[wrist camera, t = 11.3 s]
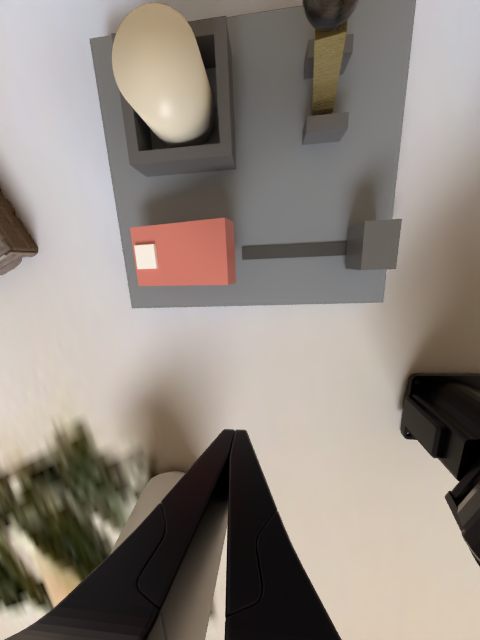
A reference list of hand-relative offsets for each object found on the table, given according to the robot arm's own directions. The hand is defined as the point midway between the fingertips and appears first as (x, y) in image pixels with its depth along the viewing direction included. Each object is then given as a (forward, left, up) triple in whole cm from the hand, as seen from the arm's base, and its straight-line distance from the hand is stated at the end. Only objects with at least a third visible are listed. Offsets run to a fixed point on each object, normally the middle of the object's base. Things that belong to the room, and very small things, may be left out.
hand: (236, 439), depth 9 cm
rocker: (+4, -7, -10) cm, 13 cm away
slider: (-8, -7, -11) cm, 15 cm away
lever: (-5, -16, -11) cm, 20 cm away
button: (+4, -16, -10) cm, 19 cm away
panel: (0, -12, -13) cm, 18 cm away
